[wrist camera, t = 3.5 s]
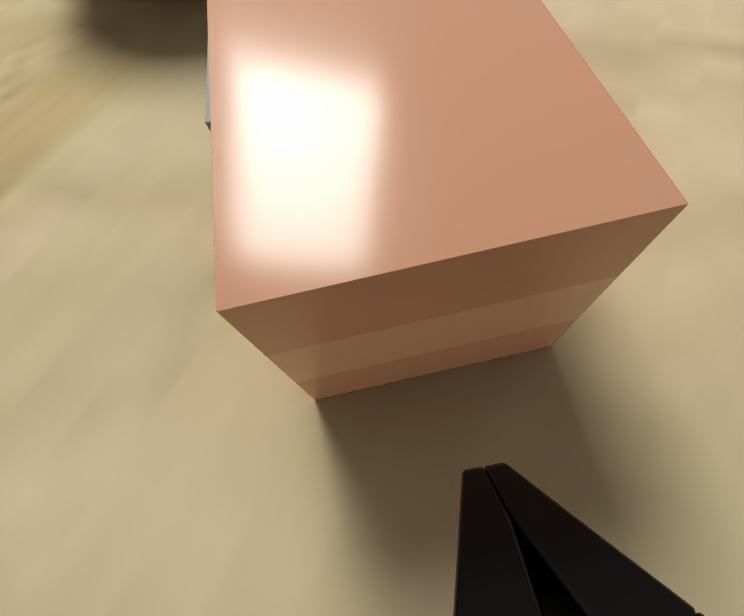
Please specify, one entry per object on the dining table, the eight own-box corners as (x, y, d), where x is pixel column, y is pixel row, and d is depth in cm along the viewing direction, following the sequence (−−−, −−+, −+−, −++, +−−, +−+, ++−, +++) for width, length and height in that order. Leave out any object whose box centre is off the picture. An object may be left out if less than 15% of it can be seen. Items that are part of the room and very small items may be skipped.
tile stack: (549, 347, 16) (688, 203, 8) (315, 400, 16) (216, 311, 8) (462, 145, 21) (493, -66, 13) (285, 186, 21) (207, 0, 13)
